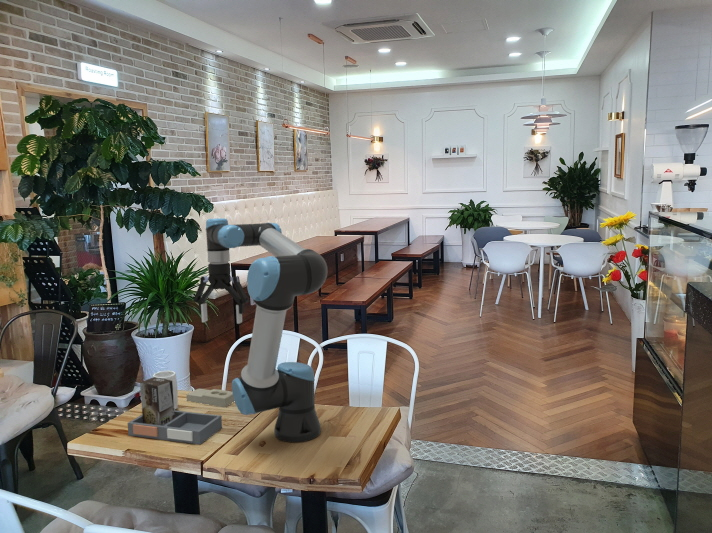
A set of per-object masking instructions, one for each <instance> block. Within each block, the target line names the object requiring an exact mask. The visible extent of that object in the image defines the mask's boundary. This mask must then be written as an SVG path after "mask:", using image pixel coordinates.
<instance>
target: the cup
mask: <svg viewBox="0 0 712 533" xmlns="http://www.w3.org/2000/svg"><path fill="white" fill-rule="evenodd" d="M153 377H157V378H162V379H167V380H172V384H173V400H174V410H177V409H178V408H179V407H178V404H179V402H178V400H179V399H178V398H179V396H178V392H179V391H178V379H177V373H176V372H175V371H173V370H161V371H158V372H155V373H154V374H153V375H152V378H153Z"/></svg>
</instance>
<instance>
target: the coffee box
mask: <svg viewBox="0 0 712 533" xmlns="http://www.w3.org/2000/svg"><path fill="white" fill-rule="evenodd" d="M139 388H140V399H141V402H140V403H141V411H142V412H141V415H143V423H144V424H152V425H160V426H164V425H165V424H167V423H168V422H170V421H172V420H173V419H175V417H174V400H173V384H172V380H167V379H162V378H157V377H153V376H152V377H151V378H148V379H145V380H144V381H140V382H139Z"/></svg>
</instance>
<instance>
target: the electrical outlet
mask: <svg viewBox="0 0 712 533" xmlns="http://www.w3.org/2000/svg"><path fill="white" fill-rule="evenodd" d="M188 401H191V402H190V403H194V402H196V403H195V404H200V403H202V405H206V404H209V405H208V406H212V405H214V406H213V407H218V406H220V407H219V408H224V407H226V406H227V407H229V406H230V405H229V404H231V403H232V402H234V401H235V400H234V397H233V392H232V390H230V391H229V390H223V389H216V388H213V389H205V388H196V389H195V390H193V391H191V392H189V393H186V402H188ZM228 405H229V406H228ZM231 405H232V404H231ZM227 407H226V408H227Z"/></svg>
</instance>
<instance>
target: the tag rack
mask: <svg viewBox="0 0 712 533" xmlns="http://www.w3.org/2000/svg"><path fill="white" fill-rule="evenodd" d="M174 417H175V419H173V420H172V421H170V422H168V423H167V424H165V425H164V426H160V425H152V424H144V423H143V415H142V414H140V415H139V416H137V417H135V418H134V419H132V420H130V421H129V422H127V435H128V436H129V437H139V438H144V439H145V438H147V439H155V440H161V441H169V442H176V443H183V444H191V445H202V444H203V443H204V442H205V441H207V440H209V439H210V438H211V437H212V436H213V435H215V434H217V432H218V431H220V430H221V429H222V428H223V425H222V424H223V421H222V420H223V418H222V415H221V414H220V415H219V414H212V413H211V414H210V413H202V412H192V411H184V410H182V411H181V410H177V409H175V410H174Z"/></svg>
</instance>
